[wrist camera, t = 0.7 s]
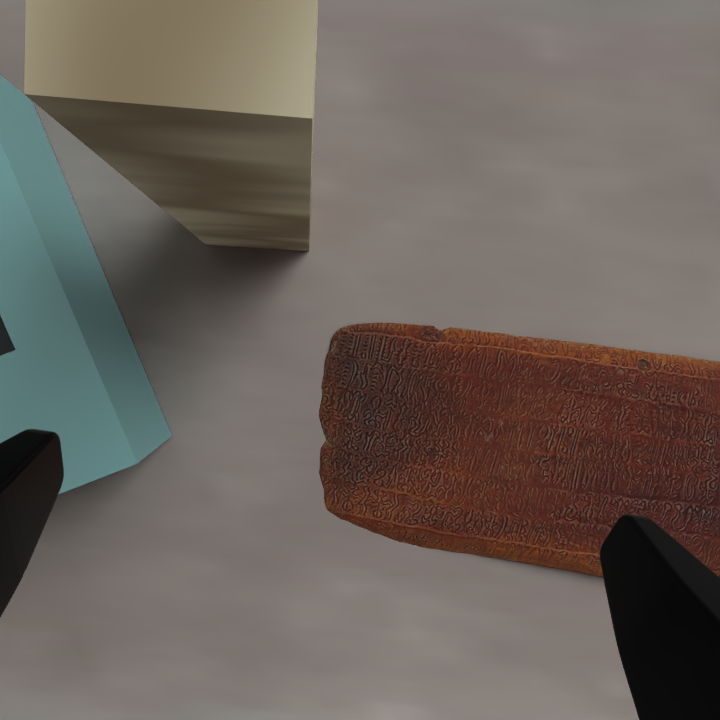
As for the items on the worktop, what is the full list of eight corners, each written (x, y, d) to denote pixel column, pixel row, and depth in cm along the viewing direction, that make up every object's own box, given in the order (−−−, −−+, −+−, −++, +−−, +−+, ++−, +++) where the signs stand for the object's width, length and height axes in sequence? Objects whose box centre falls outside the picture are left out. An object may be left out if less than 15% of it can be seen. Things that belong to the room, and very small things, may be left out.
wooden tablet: (901, 397, 26) (942, 402, 24) (855, 606, 26) (893, 625, 24) (335, 289, 23) (337, 285, 21) (292, 525, 23) (292, 540, 22)
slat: (311, 189, 22) (319, -52, 8) (308, 250, 22) (312, 117, 8) (207, 182, 22) (27, -86, 8) (205, 244, 22) (24, 93, 8)
